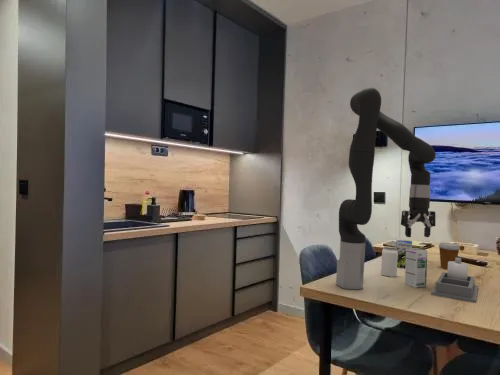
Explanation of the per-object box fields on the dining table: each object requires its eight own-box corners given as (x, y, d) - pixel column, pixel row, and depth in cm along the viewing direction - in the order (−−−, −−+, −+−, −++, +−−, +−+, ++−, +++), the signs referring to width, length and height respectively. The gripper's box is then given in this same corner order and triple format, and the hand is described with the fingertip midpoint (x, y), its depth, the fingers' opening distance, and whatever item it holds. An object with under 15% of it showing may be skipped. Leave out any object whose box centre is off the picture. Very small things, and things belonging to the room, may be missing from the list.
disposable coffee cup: (454, 271, 180) (455, 246, 180) (433, 267, 187) (435, 243, 187) (462, 269, 187) (463, 245, 186) (442, 265, 194) (443, 242, 194)
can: (397, 277, 162) (399, 250, 162) (382, 276, 164) (383, 248, 164) (395, 274, 169) (396, 247, 169) (379, 273, 170) (381, 246, 170)
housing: (475, 302, 131) (477, 268, 131) (431, 294, 139) (432, 262, 138) (477, 288, 151) (479, 258, 151) (439, 281, 159) (440, 253, 159)
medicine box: (397, 255, 217) (397, 240, 217) (395, 254, 222) (396, 239, 221) (411, 256, 216) (412, 241, 216) (409, 255, 220) (410, 240, 220)
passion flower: (395, 275, 191) (395, 253, 197) (418, 275, 185) (417, 252, 192) (389, 265, 183) (389, 243, 190) (413, 264, 178) (412, 242, 184)
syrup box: (415, 288, 147) (417, 250, 147) (403, 284, 153) (405, 248, 152) (426, 287, 149) (428, 250, 149) (414, 283, 155) (416, 247, 155)
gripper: (428, 196, 156) (426, 235, 156) (398, 195, 152) (396, 235, 153) (441, 197, 149) (439, 238, 149) (410, 196, 145) (408, 238, 145)
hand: (417, 237), depth 151 cm, fingers open, 8 cm apart
